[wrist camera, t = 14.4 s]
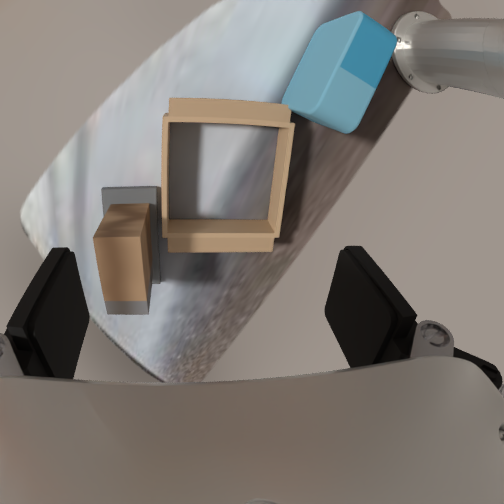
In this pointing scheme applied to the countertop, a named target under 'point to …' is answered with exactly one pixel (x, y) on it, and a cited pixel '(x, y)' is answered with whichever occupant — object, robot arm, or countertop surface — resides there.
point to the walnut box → (125, 258)
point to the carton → (228, 230)
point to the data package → (340, 71)
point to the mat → (131, 197)
